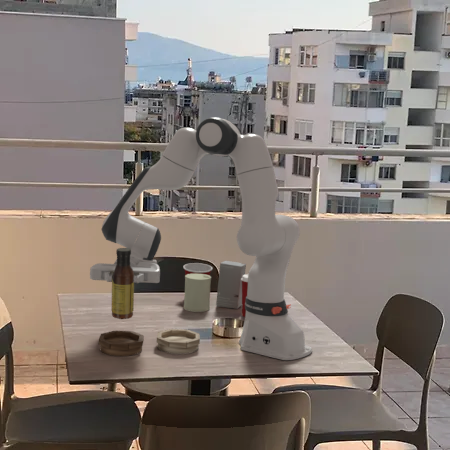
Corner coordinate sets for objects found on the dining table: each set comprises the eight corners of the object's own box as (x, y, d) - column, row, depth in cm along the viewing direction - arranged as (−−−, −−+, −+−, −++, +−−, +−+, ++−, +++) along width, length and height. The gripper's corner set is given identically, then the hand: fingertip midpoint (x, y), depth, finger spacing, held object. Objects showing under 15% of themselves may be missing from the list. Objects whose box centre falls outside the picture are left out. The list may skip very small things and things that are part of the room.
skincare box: (215, 306, 258) (218, 263, 256) (221, 301, 265) (223, 259, 263) (238, 309, 256) (241, 265, 254) (244, 304, 263) (246, 262, 260)
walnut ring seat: (151, 350, 209) (152, 338, 209) (118, 359, 200) (118, 347, 200) (124, 339, 217) (124, 328, 217) (90, 348, 208) (90, 336, 208)
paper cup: (259, 320, 245) (262, 279, 242) (237, 317, 246) (239, 277, 244) (263, 314, 252) (265, 274, 250) (241, 311, 254) (243, 272, 251)
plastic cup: (184, 301, 263) (185, 269, 261) (179, 294, 273) (181, 262, 271) (213, 301, 265) (215, 269, 263) (208, 294, 275) (209, 263, 274)
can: (209, 312, 251) (210, 278, 249) (182, 311, 251) (184, 277, 249) (210, 305, 260) (211, 272, 258) (184, 304, 260) (185, 271, 258)
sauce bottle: (122, 312, 212) (125, 245, 209) (137, 317, 208) (141, 249, 205) (105, 316, 207) (108, 248, 204) (120, 321, 203) (123, 252, 200)
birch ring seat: (207, 348, 213) (208, 336, 213) (177, 357, 204) (177, 345, 204) (178, 337, 222) (179, 326, 221) (148, 346, 213) (148, 334, 212)
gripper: (93, 256, 217) (85, 267, 204) (161, 260, 218) (158, 270, 204) (93, 277, 218) (85, 288, 205) (161, 280, 219) (157, 292, 206)
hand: (122, 279), depth 205 cm, fingers closed on sauce bottle, 6 cm apart
